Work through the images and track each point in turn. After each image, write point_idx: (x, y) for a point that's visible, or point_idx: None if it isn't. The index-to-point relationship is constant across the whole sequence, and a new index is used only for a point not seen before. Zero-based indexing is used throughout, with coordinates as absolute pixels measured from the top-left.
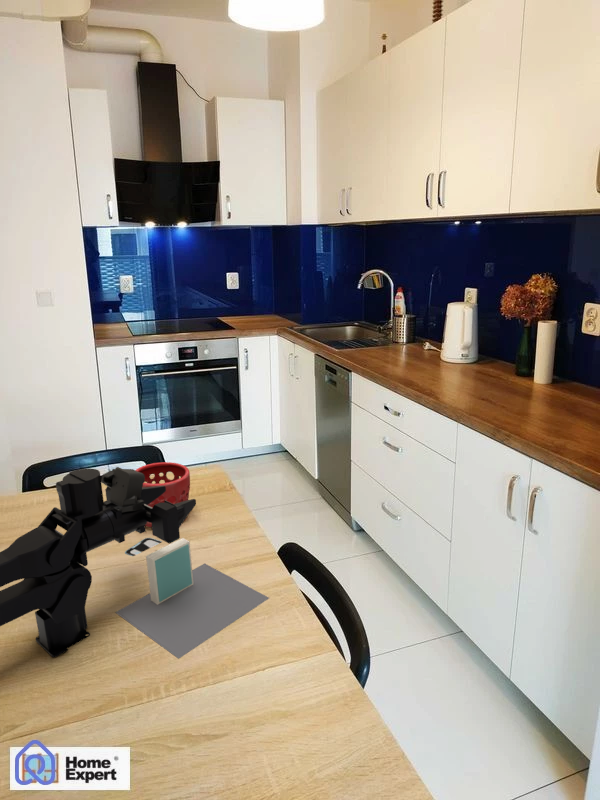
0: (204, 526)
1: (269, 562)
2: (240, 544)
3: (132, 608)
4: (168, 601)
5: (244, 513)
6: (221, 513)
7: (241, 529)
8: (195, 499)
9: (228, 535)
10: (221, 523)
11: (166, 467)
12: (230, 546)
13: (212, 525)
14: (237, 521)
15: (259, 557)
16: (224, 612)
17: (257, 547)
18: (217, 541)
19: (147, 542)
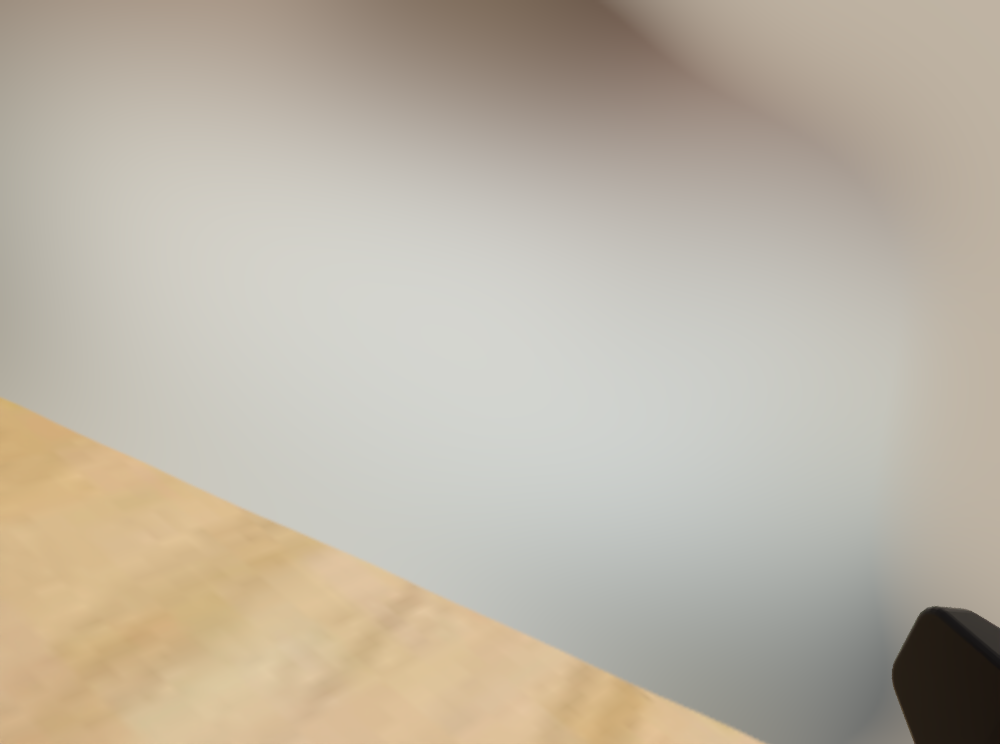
0: (16, 652)
1: (665, 727)
2: (390, 683)
3: None
4: None
5: (183, 484)
6: (47, 522)
7: (278, 582)
8: (958, 609)
9: (251, 652)
10: (117, 586)
11: None
12: (355, 728)
13: (69, 622)
14: (199, 541)
15: (586, 721)
16: None
17: (492, 659)
18: (233, 731)
19: None
